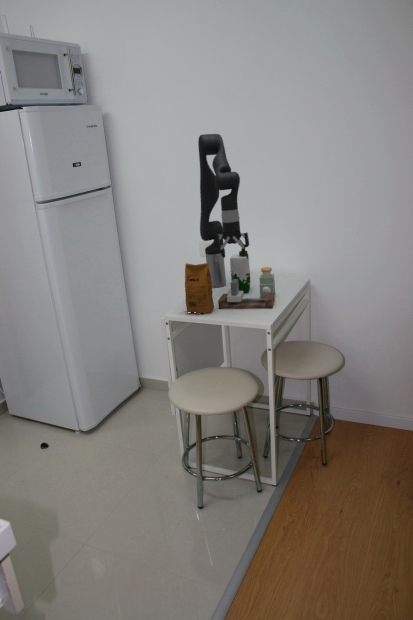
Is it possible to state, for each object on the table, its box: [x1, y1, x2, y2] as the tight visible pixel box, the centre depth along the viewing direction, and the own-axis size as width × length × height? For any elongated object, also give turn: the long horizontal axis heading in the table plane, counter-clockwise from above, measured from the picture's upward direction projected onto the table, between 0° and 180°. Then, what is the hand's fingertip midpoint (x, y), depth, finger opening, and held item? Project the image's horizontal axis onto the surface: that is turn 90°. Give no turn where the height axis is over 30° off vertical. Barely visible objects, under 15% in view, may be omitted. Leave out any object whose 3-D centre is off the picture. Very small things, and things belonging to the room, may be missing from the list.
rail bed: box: [217, 293, 276, 310], centre depth 225 cm, size 24×10×4 cm, turn 77°
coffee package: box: [184, 262, 215, 314], centre depth 221 cm, size 10×12×22 cm
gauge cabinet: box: [259, 273, 276, 298], centre depth 233 cm, size 6×8×10 cm
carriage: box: [227, 279, 245, 302], centre depth 225 cm, size 6×8×8 cm
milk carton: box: [229, 250, 251, 294], centre depth 243 cm, size 9×9×20 cm
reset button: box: [260, 266, 273, 277], centre depth 231 cm, size 5×5×4 cm
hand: (233, 257), depth 220 cm, fingers open, 8 cm apart
